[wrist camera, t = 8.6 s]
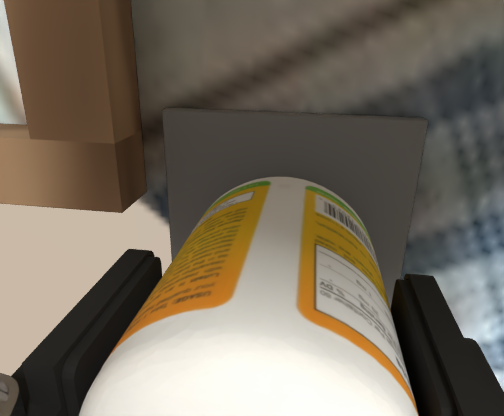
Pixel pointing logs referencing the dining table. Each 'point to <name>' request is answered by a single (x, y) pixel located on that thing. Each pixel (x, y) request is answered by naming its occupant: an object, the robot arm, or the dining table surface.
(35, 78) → the well board
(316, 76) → the dining table surface
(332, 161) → the pad
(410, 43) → the dining table surface
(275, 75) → the dining table surface
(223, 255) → the supplement bottle
